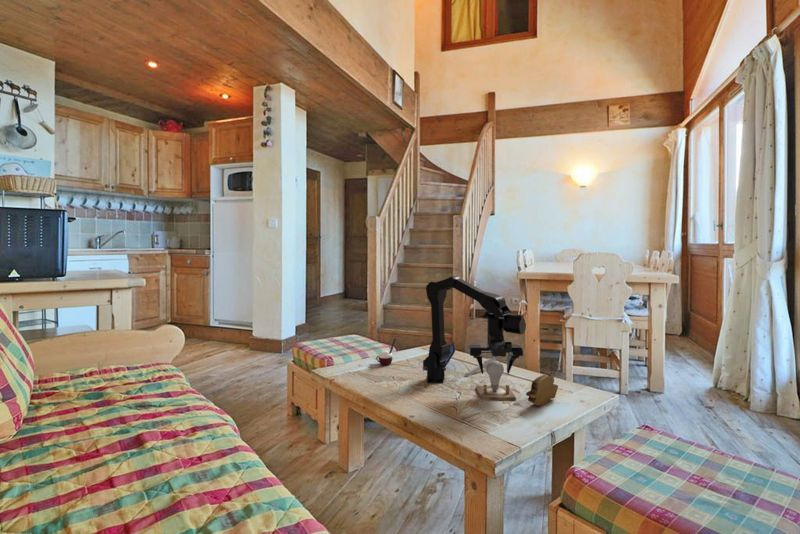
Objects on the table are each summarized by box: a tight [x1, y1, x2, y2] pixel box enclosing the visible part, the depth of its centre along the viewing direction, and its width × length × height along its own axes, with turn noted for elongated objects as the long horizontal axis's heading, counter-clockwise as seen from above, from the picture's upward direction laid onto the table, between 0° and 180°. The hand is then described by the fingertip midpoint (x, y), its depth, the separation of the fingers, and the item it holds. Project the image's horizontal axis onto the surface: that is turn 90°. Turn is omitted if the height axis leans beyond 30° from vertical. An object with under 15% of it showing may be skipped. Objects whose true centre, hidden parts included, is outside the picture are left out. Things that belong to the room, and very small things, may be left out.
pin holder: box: [475, 384, 517, 401], centre depth 154 cm, size 12×12×4 cm
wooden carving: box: [525, 374, 559, 407], centre depth 144 cm, size 16×5×10 cm, turn 134°
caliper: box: [464, 354, 497, 377], centre depth 180 cm, size 20×1×6 cm, turn 131°
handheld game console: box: [423, 342, 456, 371], centre depth 190 cm, size 16×13×9 cm
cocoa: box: [375, 338, 397, 366], centre depth 192 cm, size 10×6×12 cm, turn 48°
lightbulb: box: [485, 360, 504, 391], centre depth 154 cm, size 6×6×11 cm
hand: (495, 373), depth 154 cm, fingers open, 9 cm apart
